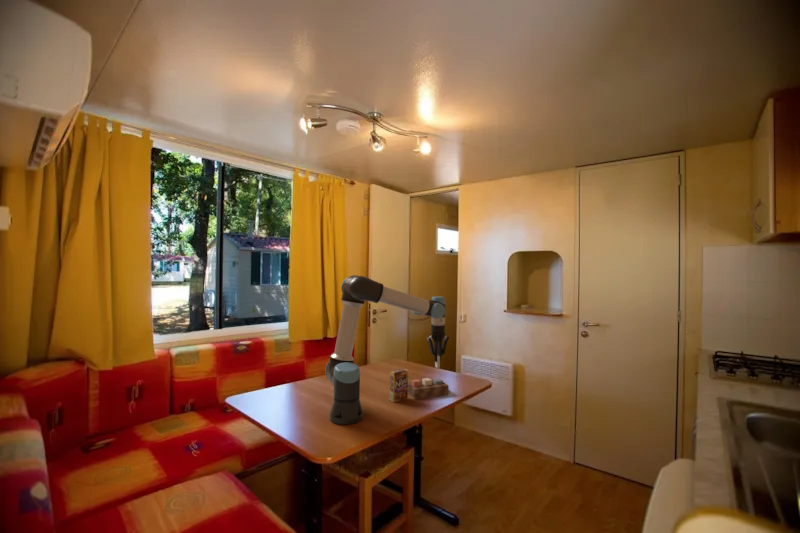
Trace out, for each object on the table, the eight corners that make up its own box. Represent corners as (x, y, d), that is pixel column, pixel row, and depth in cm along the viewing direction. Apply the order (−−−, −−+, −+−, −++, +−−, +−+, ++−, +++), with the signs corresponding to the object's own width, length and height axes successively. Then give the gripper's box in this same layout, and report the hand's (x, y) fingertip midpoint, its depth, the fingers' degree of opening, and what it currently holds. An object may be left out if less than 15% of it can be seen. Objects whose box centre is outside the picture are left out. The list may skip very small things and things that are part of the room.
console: (414, 399, 183) (414, 389, 183) (405, 391, 194) (405, 382, 194) (448, 394, 190) (448, 385, 190) (438, 387, 201) (438, 378, 201)
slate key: (435, 388, 192) (436, 381, 192) (432, 386, 196) (432, 379, 196) (442, 387, 193) (442, 380, 193) (439, 385, 197) (439, 378, 197)
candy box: (393, 403, 178) (393, 372, 178) (389, 400, 181) (389, 370, 181) (408, 399, 182) (408, 370, 183) (403, 397, 186) (403, 368, 186)
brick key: (414, 389, 187) (414, 382, 187) (411, 387, 191) (411, 379, 191) (420, 388, 189) (421, 381, 189) (417, 386, 192) (417, 379, 192)
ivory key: (425, 388, 190) (425, 380, 190) (422, 385, 193) (422, 378, 193) (431, 387, 191) (431, 380, 191) (428, 385, 195) (428, 377, 195)
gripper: (430, 326, 189) (429, 370, 189) (451, 325, 194) (451, 368, 193) (424, 324, 196) (423, 366, 196) (445, 323, 201) (444, 364, 200)
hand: (437, 367), depth 194 cm, fingers closed
